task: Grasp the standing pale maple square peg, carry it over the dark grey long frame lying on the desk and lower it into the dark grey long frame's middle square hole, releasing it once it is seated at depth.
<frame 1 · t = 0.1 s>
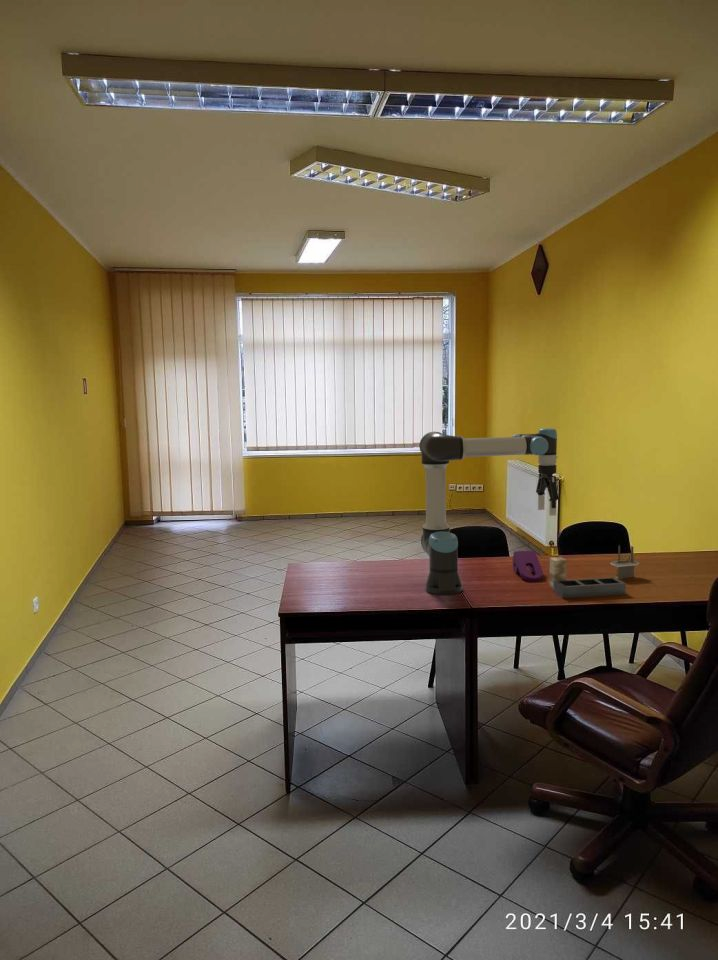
hand: (546, 512, 289), 28 cm above the table, fingers open, 13 cm apart
dark grey long frame: (589, 592, 266), on the table
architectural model: (623, 578, 286), on the table
peg: (557, 586, 275), on the table
mounting bracket: (528, 576, 292), on the table
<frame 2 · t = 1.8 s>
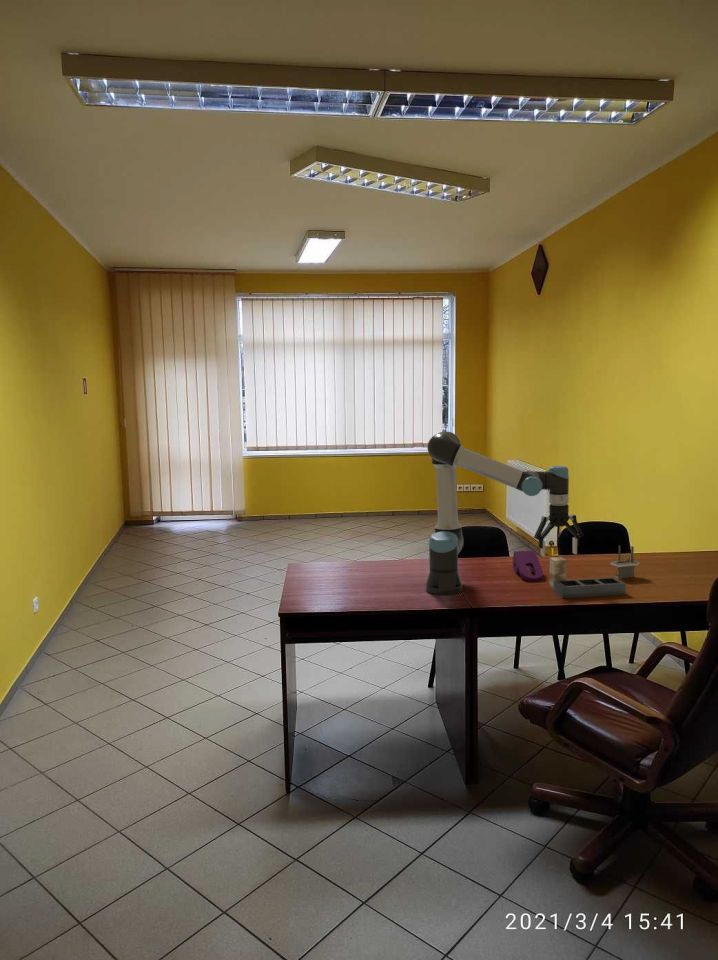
hand: (558, 554, 273), 14 cm above the table, fingers open, 13 cm apart
nothing on the table moved.
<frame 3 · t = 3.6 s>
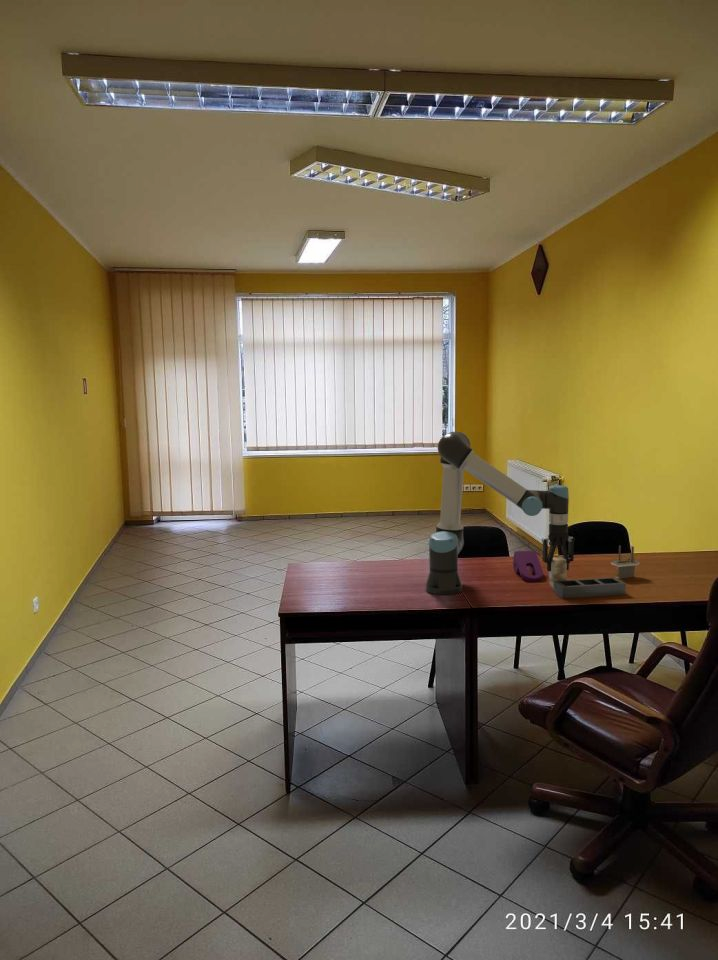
hand: (557, 578, 274), 4 cm above the table, fingers closed on peg, 5 cm apart
peg: (557, 586, 275), on the table, touching gripper
everything else where it was.
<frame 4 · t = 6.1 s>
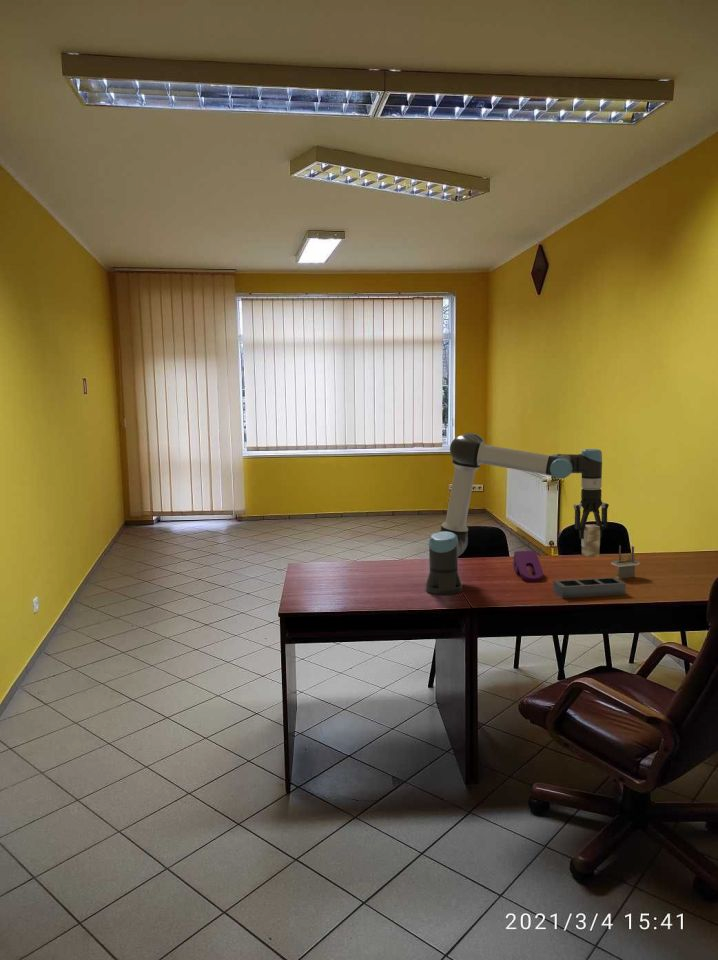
hand: (590, 546, 263), 19 cm above the table, fingers closed on peg, 5 cm apart
peg: (590, 555, 263), point 16 cm above the table, touching gripper
everything else where it was.
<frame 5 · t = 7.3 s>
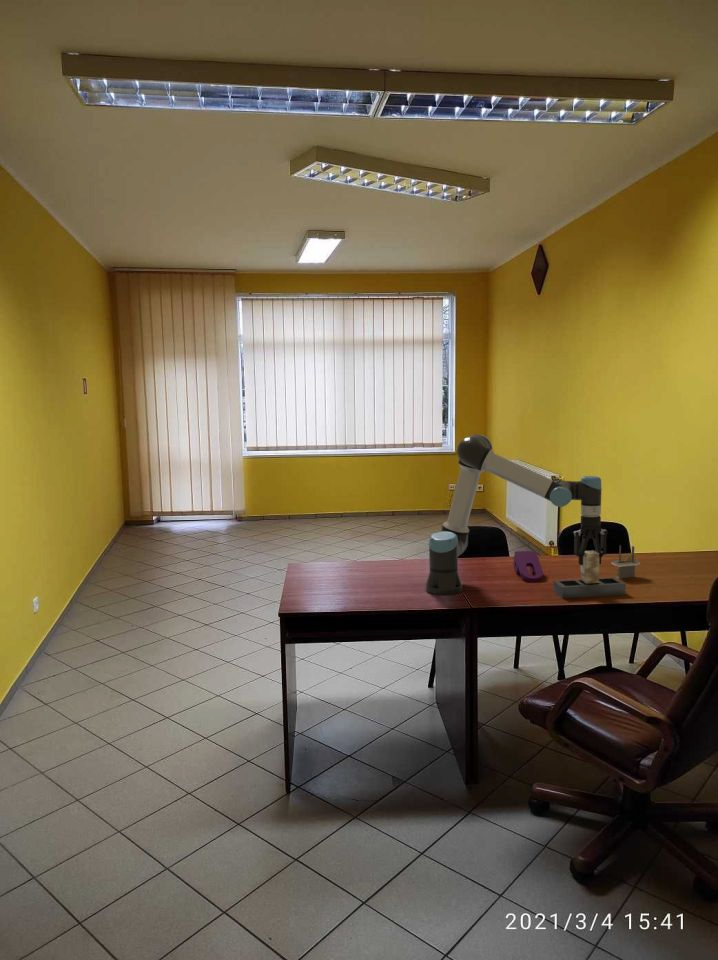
hand: (589, 572, 264), 9 cm above the table, fingers closed on peg, 5 cm apart
peg: (589, 581, 265), point 5 cm above the table, touching gripper
everything else where it was.
when the fingers open (6 cm above the table, at t = 8.4 s): peg drops 2 cm, resting in dark grey long frame.
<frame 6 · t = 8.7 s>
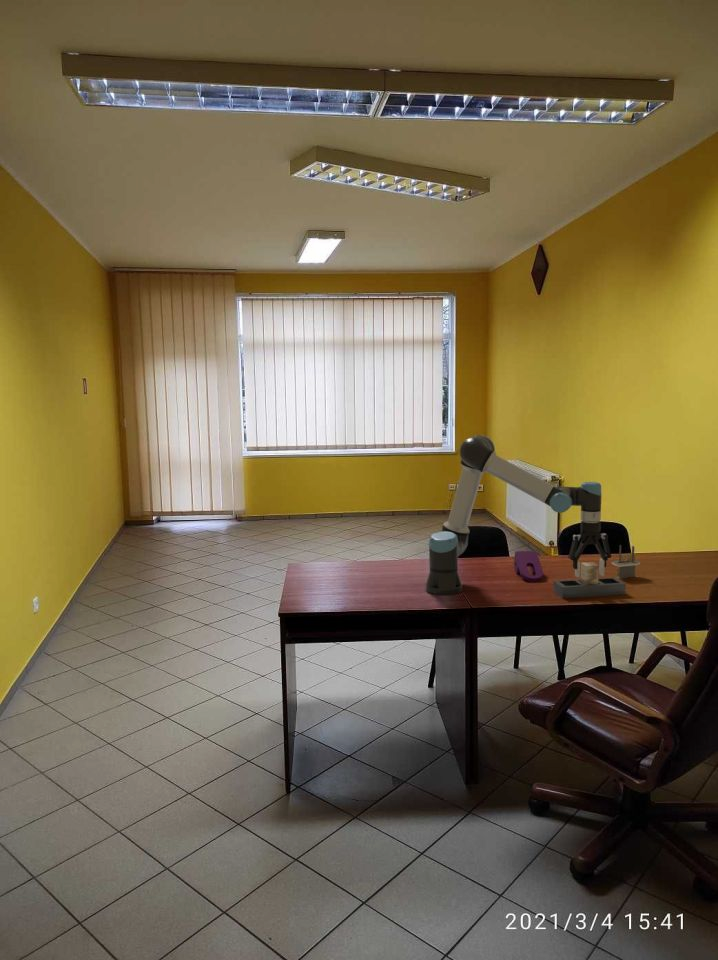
hand: (589, 575, 265), 7 cm above the table, fingers open, 9 cm apart
peg: (588, 593, 266), resting in dark grey long frame
everything else where it was.
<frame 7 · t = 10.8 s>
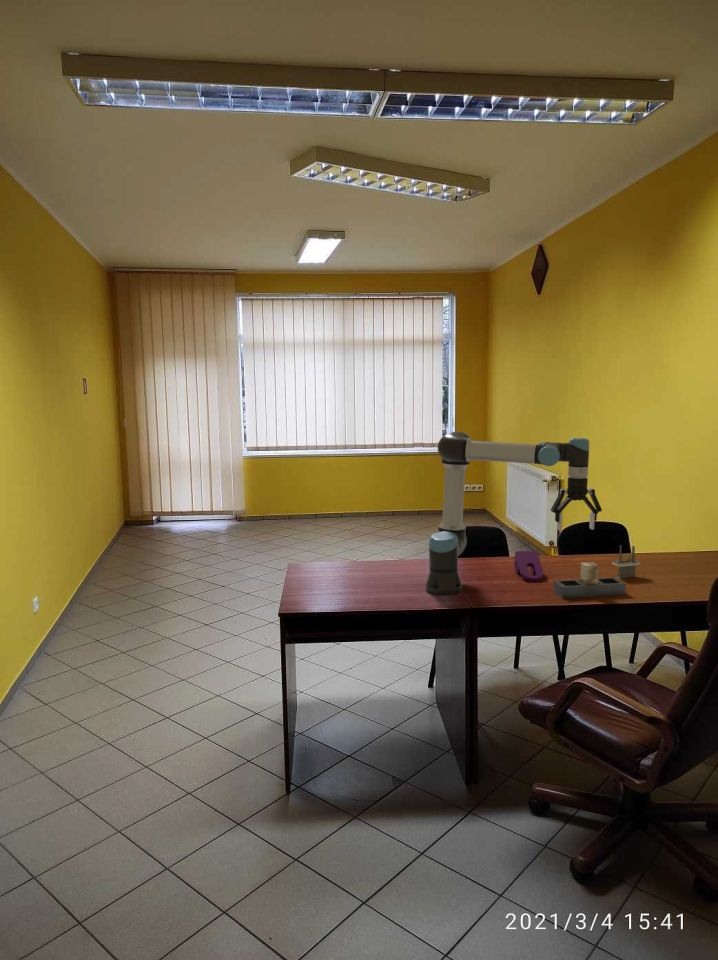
hand: (575, 529, 265), 26 cm above the table, fingers open, 13 cm apart
nothing on the table moved.
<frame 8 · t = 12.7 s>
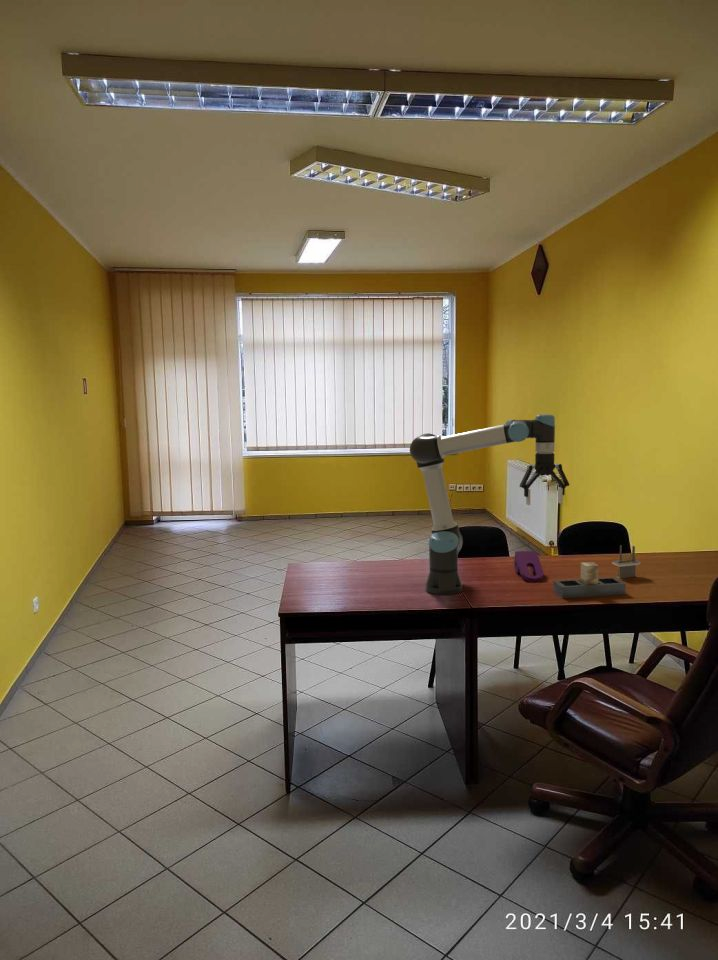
hand: (544, 504, 272), 35 cm above the table, fingers open, 13 cm apart
at the end: peg 0.0 cm off-centre on the dark grey long frame, point 0.0 cm above the dark grey long frame's base; peg tilted 0°; the gripper is holding nothing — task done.
